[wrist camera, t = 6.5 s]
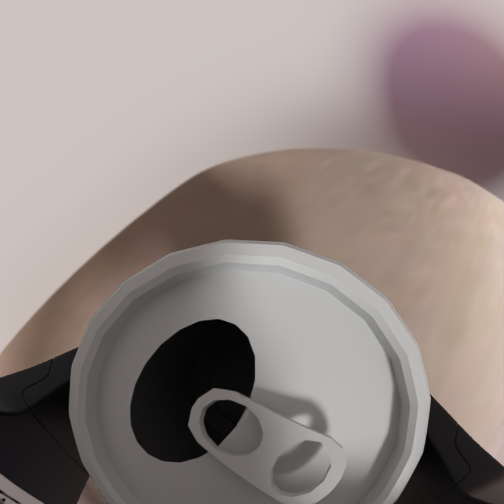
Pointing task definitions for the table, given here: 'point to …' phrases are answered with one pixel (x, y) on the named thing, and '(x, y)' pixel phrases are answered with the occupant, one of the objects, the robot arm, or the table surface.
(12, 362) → the table surface
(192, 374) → the can
